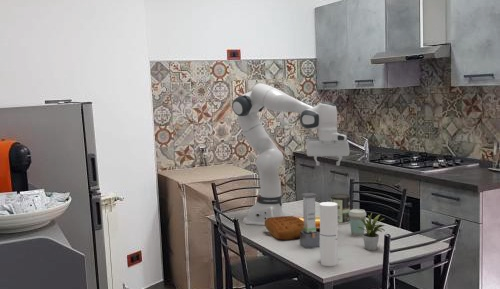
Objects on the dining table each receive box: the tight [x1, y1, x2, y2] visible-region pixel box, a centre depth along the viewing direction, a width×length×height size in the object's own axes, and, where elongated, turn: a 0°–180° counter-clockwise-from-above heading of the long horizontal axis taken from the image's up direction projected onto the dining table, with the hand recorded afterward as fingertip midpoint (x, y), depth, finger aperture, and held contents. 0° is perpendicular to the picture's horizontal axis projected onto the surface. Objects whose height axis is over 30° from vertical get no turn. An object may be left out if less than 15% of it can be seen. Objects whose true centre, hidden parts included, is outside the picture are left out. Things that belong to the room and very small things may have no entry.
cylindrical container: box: [319, 201, 339, 267], centre depth 207 cm, size 7×7×25 cm
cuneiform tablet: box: [264, 215, 304, 241], centre depth 247 cm, size 22×17×8 cm
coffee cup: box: [349, 208, 367, 238], centre depth 245 cm, size 8×8×12 cm
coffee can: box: [329, 193, 351, 225], centre depth 269 cm, size 10×10×14 cm
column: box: [300, 192, 318, 234], centre depth 226 cm, size 5×5×18 cm
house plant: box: [357, 212, 386, 251], centre depth 224 cm, size 14×14×16 cm
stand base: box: [299, 230, 320, 250], centre depth 228 cm, size 12×12×8 cm
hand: (327, 165), depth 239 cm, fingers open, 8 cm apart
